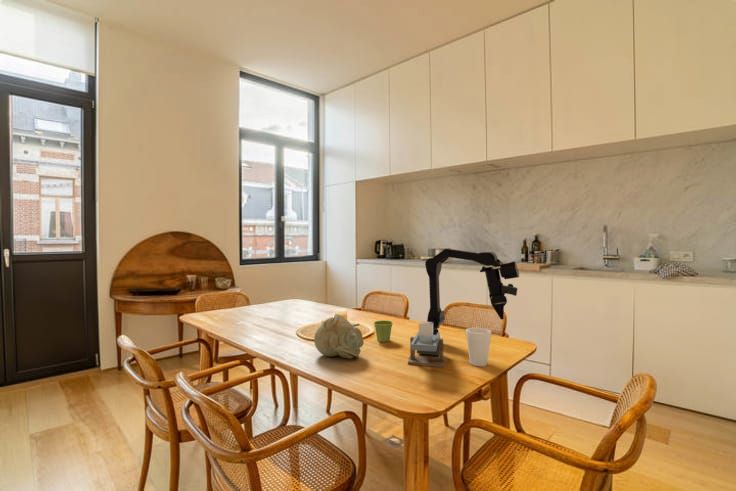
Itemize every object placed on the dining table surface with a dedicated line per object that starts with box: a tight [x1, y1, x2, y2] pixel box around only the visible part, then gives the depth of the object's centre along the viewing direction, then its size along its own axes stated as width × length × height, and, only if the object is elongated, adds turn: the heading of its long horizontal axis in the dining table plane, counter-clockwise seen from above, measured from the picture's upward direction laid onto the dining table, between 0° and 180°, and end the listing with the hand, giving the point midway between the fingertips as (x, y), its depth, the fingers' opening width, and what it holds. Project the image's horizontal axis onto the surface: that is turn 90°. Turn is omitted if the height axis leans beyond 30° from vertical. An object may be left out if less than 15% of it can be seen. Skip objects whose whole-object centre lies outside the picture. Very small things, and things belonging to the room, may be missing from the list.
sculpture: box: [313, 313, 365, 360], centre depth 154 cm, size 18×20×20 cm
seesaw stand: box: [407, 336, 446, 368], centre depth 145 cm, size 8×14×10 cm, turn 76°
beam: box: [409, 331, 441, 356], centre depth 143 cm, size 28×9×8 cm, turn 166°
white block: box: [418, 321, 433, 343], centre depth 143 cm, size 6×5×7 cm
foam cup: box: [465, 326, 492, 367], centre depth 143 cm, size 10×9×13 cm
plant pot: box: [373, 320, 394, 343], centre depth 176 cm, size 9×9×9 cm
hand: (501, 317), depth 155 cm, fingers open, 9 cm apart
